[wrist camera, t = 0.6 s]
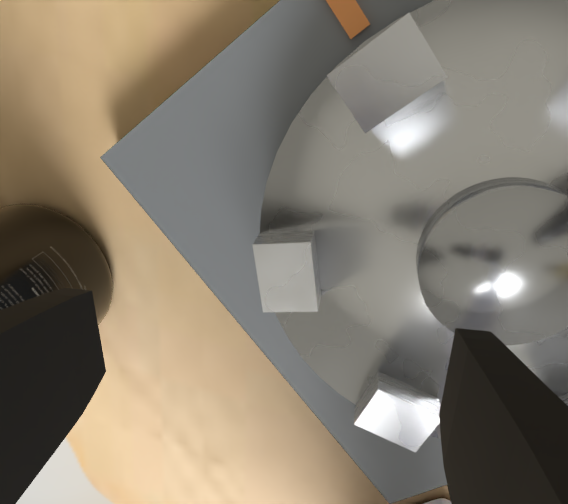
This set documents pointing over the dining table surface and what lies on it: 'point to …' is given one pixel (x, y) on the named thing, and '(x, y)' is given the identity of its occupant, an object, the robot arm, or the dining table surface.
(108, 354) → the dining table surface
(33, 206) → the supplement bottle
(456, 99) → the grey turntable disc
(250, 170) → the boss plate
